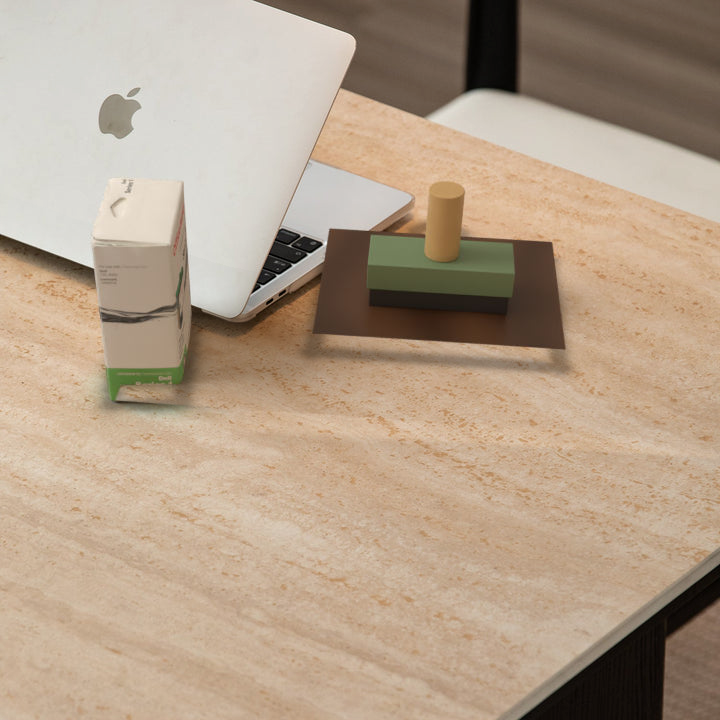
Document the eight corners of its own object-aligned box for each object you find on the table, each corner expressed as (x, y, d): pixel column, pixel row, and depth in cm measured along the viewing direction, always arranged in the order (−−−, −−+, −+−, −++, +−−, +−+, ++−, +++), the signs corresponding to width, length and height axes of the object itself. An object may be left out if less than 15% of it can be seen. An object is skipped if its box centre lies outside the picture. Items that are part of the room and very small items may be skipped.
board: (549, 258, 95) (552, 241, 94) (562, 366, 84) (565, 348, 83) (328, 244, 96) (329, 227, 95) (312, 351, 84) (312, 332, 84)
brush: (507, 285, 89) (520, 179, 84) (509, 316, 86) (523, 208, 81) (369, 276, 90) (373, 170, 84) (365, 307, 86) (370, 199, 81)
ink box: (183, 403, 79) (173, 244, 72) (105, 402, 79) (87, 243, 72) (194, 326, 86) (186, 174, 79) (122, 325, 86) (108, 173, 79)
